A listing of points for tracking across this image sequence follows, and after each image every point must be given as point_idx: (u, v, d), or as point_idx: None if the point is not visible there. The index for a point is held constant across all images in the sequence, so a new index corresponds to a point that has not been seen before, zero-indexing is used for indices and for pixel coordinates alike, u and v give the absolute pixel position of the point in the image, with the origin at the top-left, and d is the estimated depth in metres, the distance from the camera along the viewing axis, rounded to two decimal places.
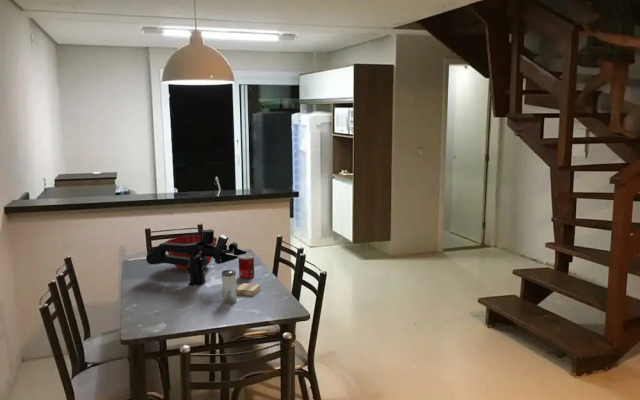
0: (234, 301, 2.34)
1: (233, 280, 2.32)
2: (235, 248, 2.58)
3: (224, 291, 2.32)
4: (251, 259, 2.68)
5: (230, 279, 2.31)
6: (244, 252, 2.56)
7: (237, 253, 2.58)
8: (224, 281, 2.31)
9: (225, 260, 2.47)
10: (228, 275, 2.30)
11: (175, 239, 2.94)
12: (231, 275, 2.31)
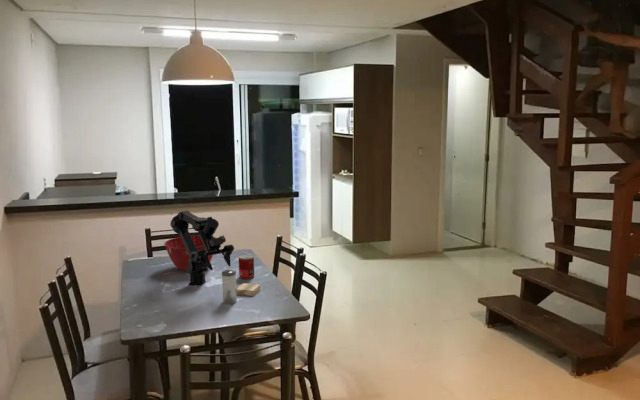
0: (234, 301, 2.34)
1: (233, 280, 2.32)
2: (226, 253, 2.45)
3: (224, 291, 2.32)
4: (251, 259, 2.68)
5: (230, 279, 2.31)
6: (228, 264, 2.43)
7: (225, 258, 2.46)
8: (224, 281, 2.31)
9: (202, 262, 2.39)
10: (228, 275, 2.30)
11: (175, 239, 2.94)
12: (231, 275, 2.31)
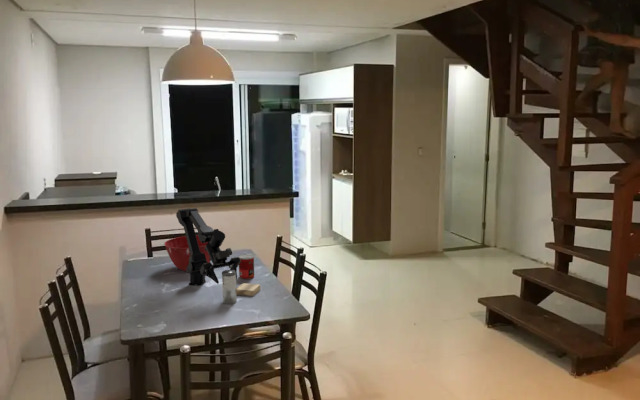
0: (234, 301, 2.34)
1: (233, 280, 2.32)
2: (233, 266, 2.40)
3: (224, 291, 2.32)
4: (251, 259, 2.68)
5: (230, 279, 2.31)
6: None
7: None
8: (224, 281, 2.31)
9: (208, 275, 2.35)
10: (228, 275, 2.30)
11: (175, 239, 2.94)
12: (231, 275, 2.31)
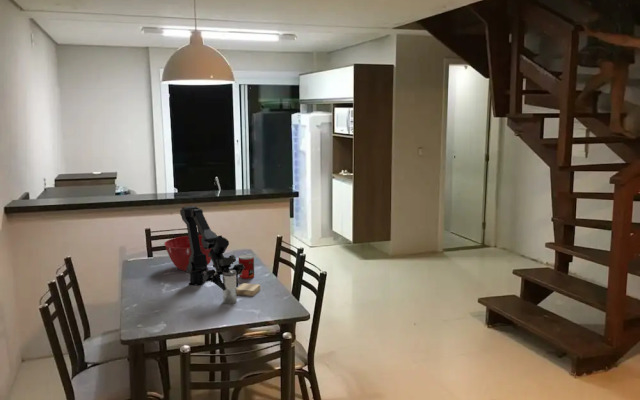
0: (234, 301, 2.34)
1: (233, 280, 2.32)
2: None
3: (224, 291, 2.32)
4: (251, 259, 2.68)
5: (230, 279, 2.31)
6: (236, 285, 2.36)
7: None
8: (224, 281, 2.31)
9: (215, 282, 2.34)
10: (229, 275, 2.30)
11: (175, 239, 2.94)
12: (232, 275, 2.31)
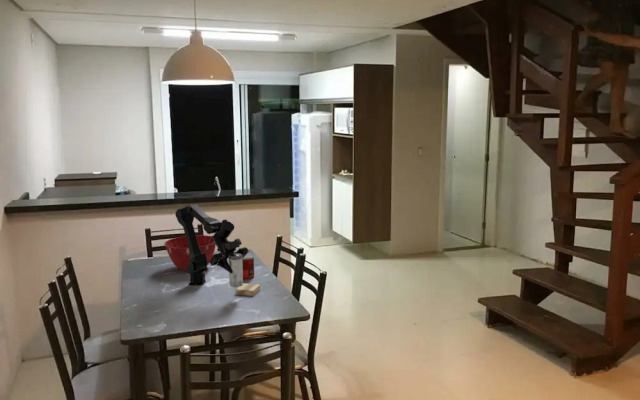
0: (241, 284, 2.37)
1: (240, 263, 2.35)
2: None
3: (231, 274, 2.35)
4: (251, 259, 2.68)
5: (237, 263, 2.33)
6: None
7: None
8: (231, 264, 2.34)
9: (221, 265, 2.36)
10: (236, 258, 2.33)
11: (175, 239, 2.94)
12: (239, 258, 2.33)
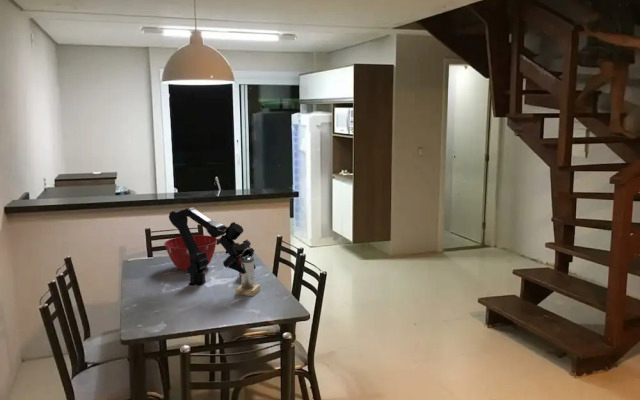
0: (253, 285, 2.47)
1: (253, 265, 2.45)
2: None
3: (245, 277, 2.44)
4: None
5: (251, 265, 2.44)
6: None
7: None
8: (245, 267, 2.43)
9: (232, 267, 2.42)
10: (250, 261, 2.43)
11: (175, 239, 2.94)
12: (252, 261, 2.44)
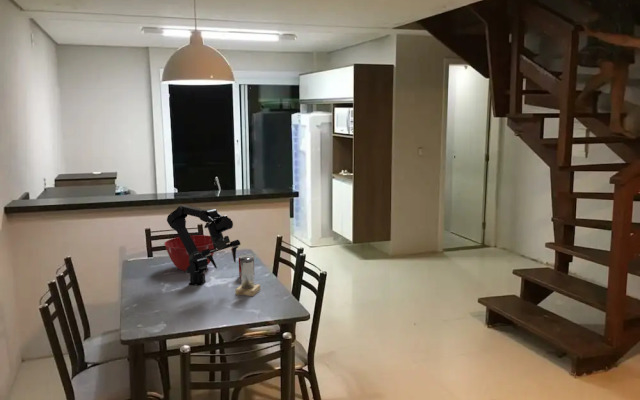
0: (253, 285, 2.47)
1: (252, 265, 2.45)
2: (232, 250, 2.49)
3: (245, 277, 2.44)
4: None
5: (250, 265, 2.44)
6: (234, 260, 2.49)
7: (232, 252, 2.51)
8: (245, 267, 2.43)
9: (208, 258, 2.48)
10: (249, 261, 2.43)
11: (175, 239, 2.94)
12: (251, 261, 2.44)
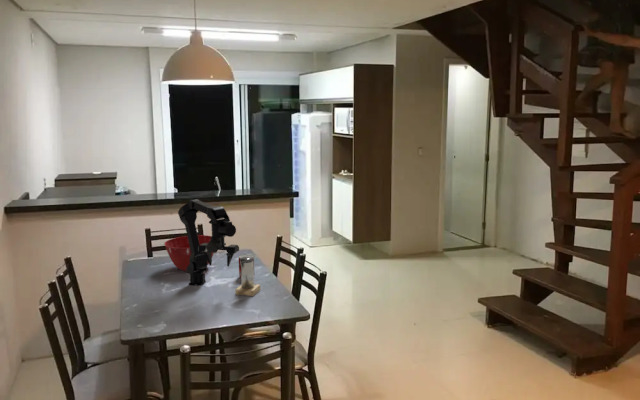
0: (253, 285, 2.47)
1: (252, 265, 2.45)
2: None
3: (245, 277, 2.44)
4: None
5: (250, 265, 2.44)
6: None
7: None
8: (245, 267, 2.43)
9: None
10: (249, 261, 2.43)
11: (175, 239, 2.94)
12: (251, 261, 2.44)
